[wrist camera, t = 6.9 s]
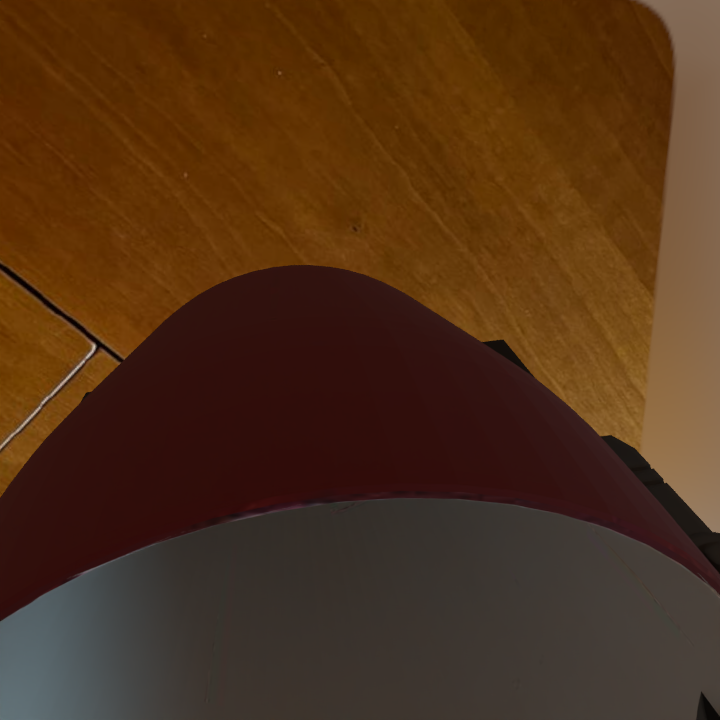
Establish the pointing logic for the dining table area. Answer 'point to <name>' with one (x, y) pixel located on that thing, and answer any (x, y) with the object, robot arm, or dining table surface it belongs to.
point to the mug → (340, 532)
